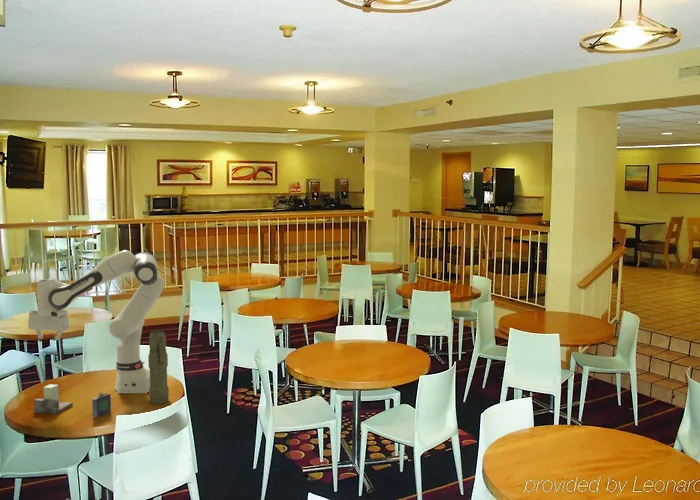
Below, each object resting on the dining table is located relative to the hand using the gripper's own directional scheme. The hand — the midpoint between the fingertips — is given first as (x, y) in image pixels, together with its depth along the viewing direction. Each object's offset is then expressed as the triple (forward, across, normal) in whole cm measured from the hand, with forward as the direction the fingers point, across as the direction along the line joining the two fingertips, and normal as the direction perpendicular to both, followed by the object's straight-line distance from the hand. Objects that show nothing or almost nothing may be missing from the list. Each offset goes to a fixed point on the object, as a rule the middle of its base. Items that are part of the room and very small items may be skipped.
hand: (49, 339), depth 288 cm
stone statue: (+29, +55, +5) cm, 63 cm away
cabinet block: (+28, +12, -16) cm, 34 cm away
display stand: (+29, +12, -14) cm, 35 cm away
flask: (+29, +38, -16) cm, 51 cm away
